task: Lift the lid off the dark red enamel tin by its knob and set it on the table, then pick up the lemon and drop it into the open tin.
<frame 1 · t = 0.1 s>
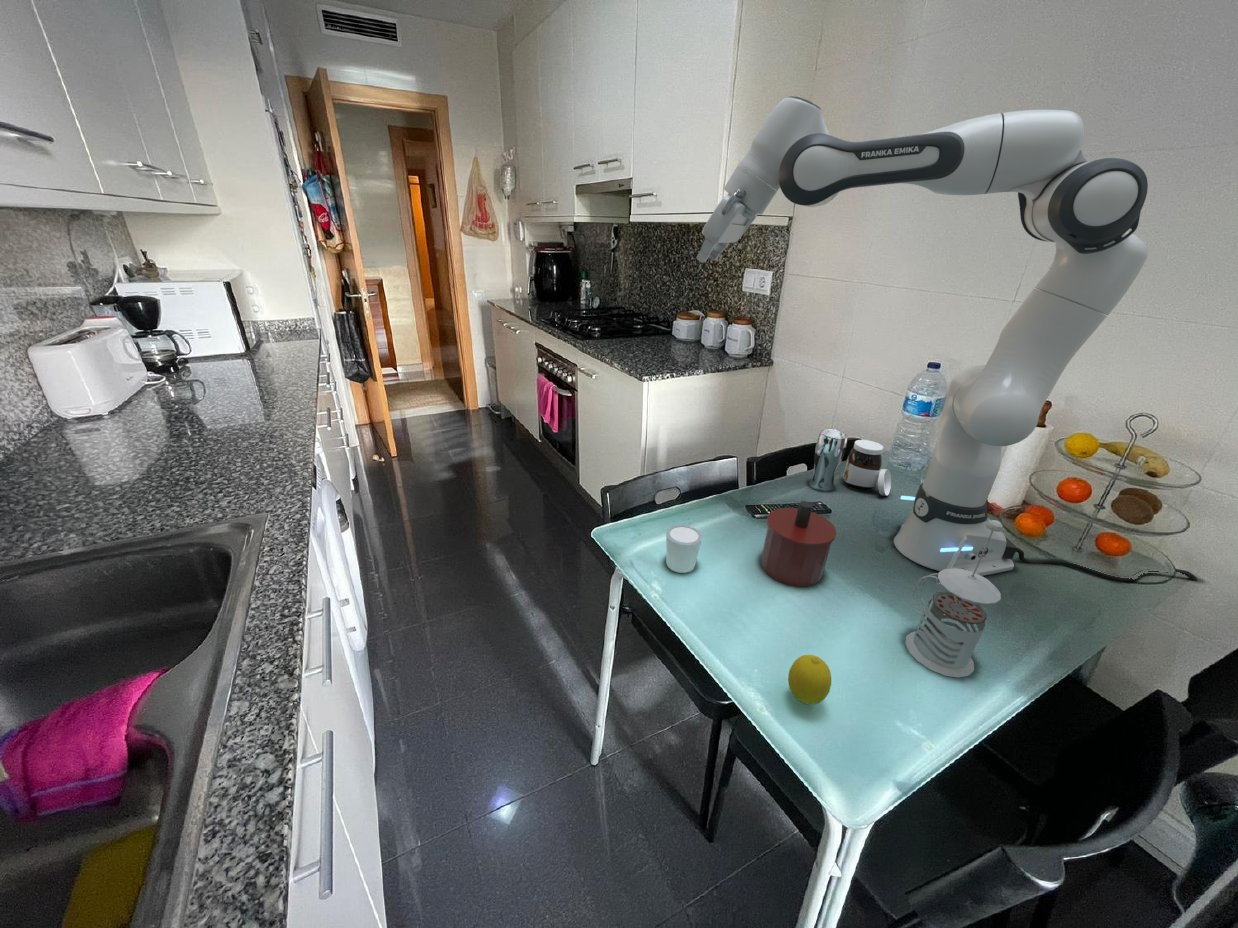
hand: (705, 260, 102), 54 cm above the table, tool tilted 30°, fingers open, 8 cm apart
tin: (790, 567, 99), on the table
lemon: (803, 700, 71), on the table
white cup: (680, 564, 99), on the table
french press: (933, 649, 81), on the table
spread jar: (865, 487, 133), on the table
beer glass: (820, 486, 132), on the table
tin lid: (800, 527, 95), point 9 cm above the table, touching tin
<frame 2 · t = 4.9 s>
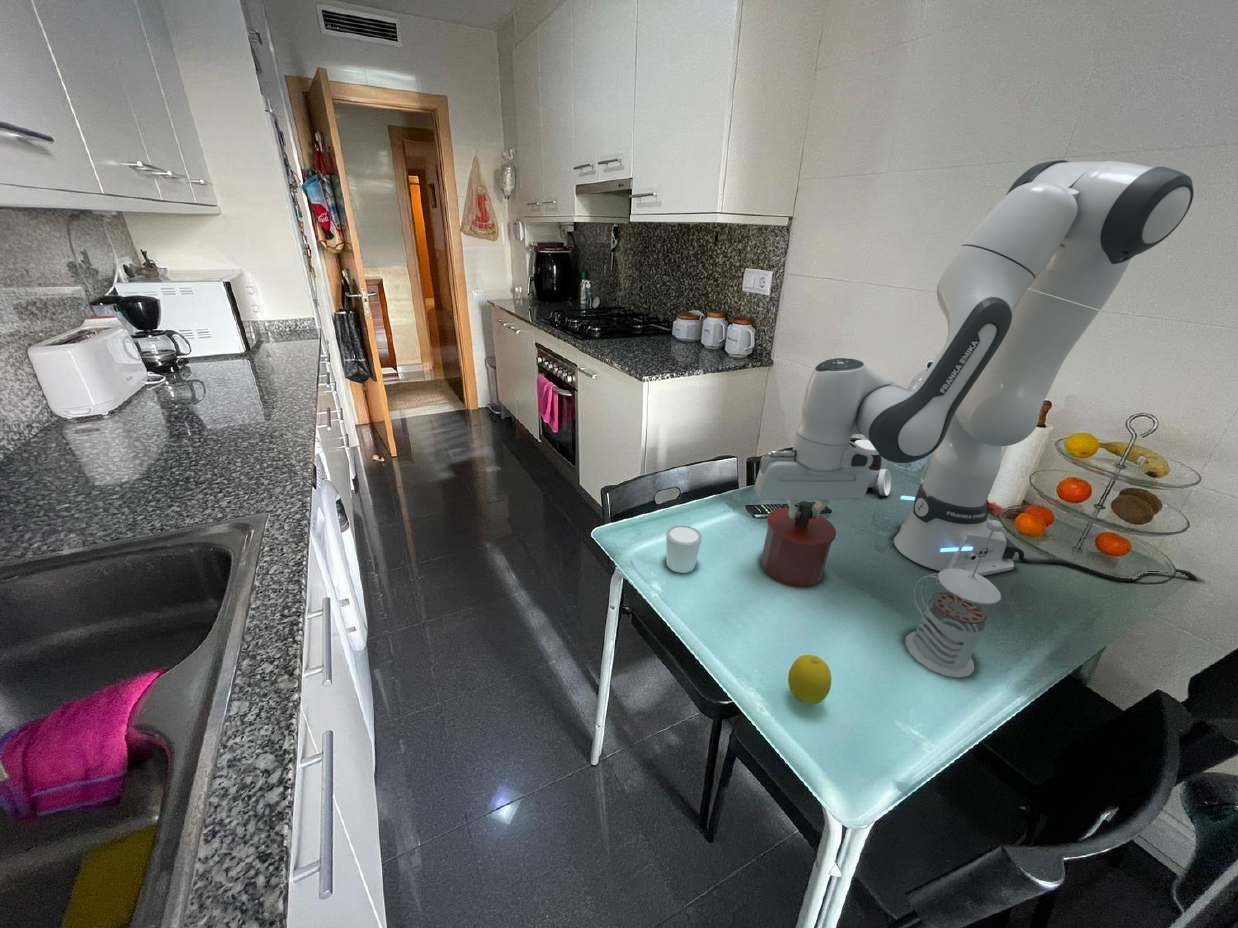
hand: (803, 517, 94), 12 cm above the table, tool pointing down, fingers closed on tin lid, 2 cm apart
tin lid: (800, 527, 95), point 10 cm above the table, touching gripper, tin
everything else where it was.
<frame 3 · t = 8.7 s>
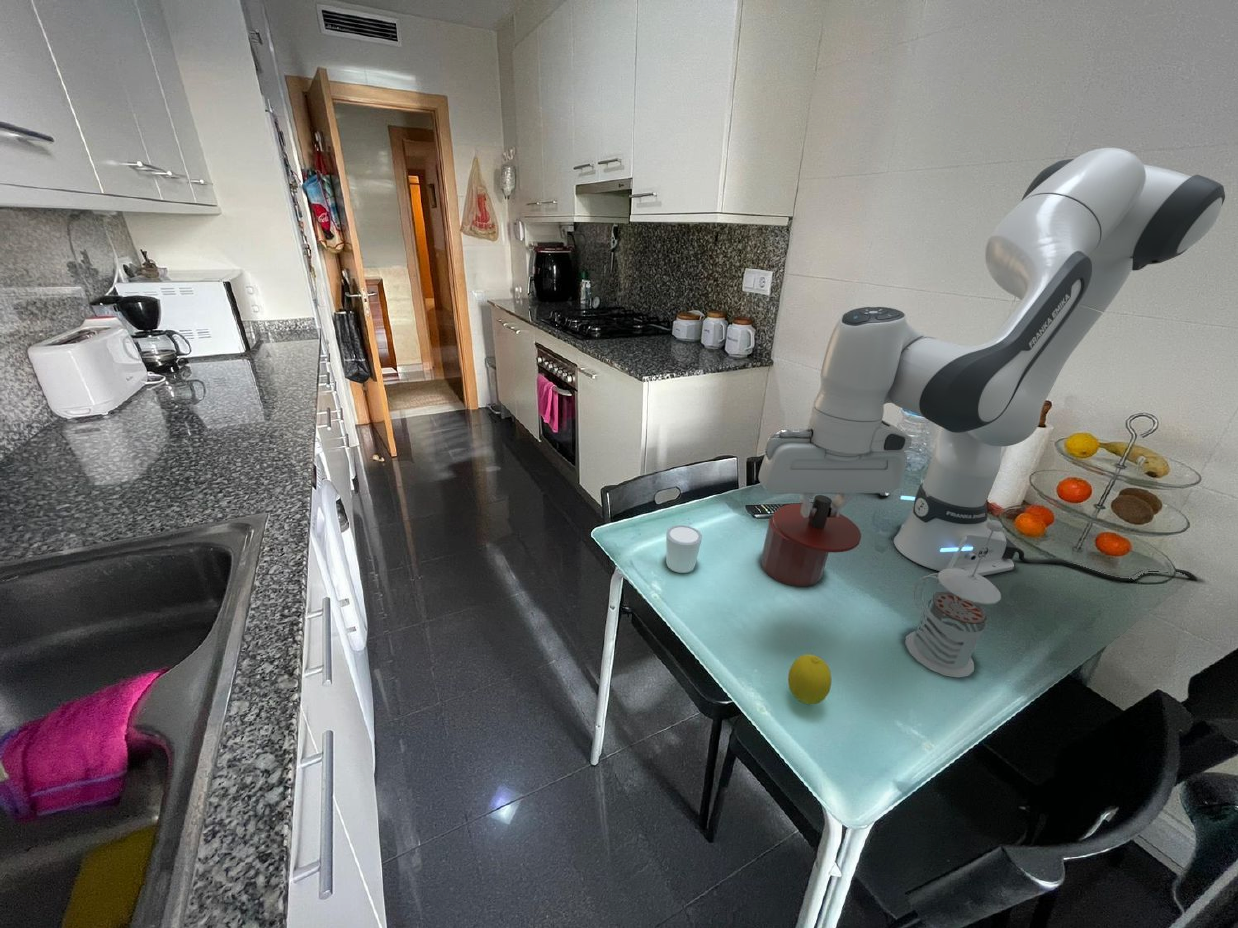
hand: (819, 515, 75), 22 cm above the table, tool pointing down, fingers closed on tin lid, 2 cm apart
tin lid: (815, 527, 76), point 20 cm above the table, touching gripper
everything else where it was.
when the fingers open (3 cm above the table, at t = 13.0 s): tin lid stays where it is, point 1 cm above the table.
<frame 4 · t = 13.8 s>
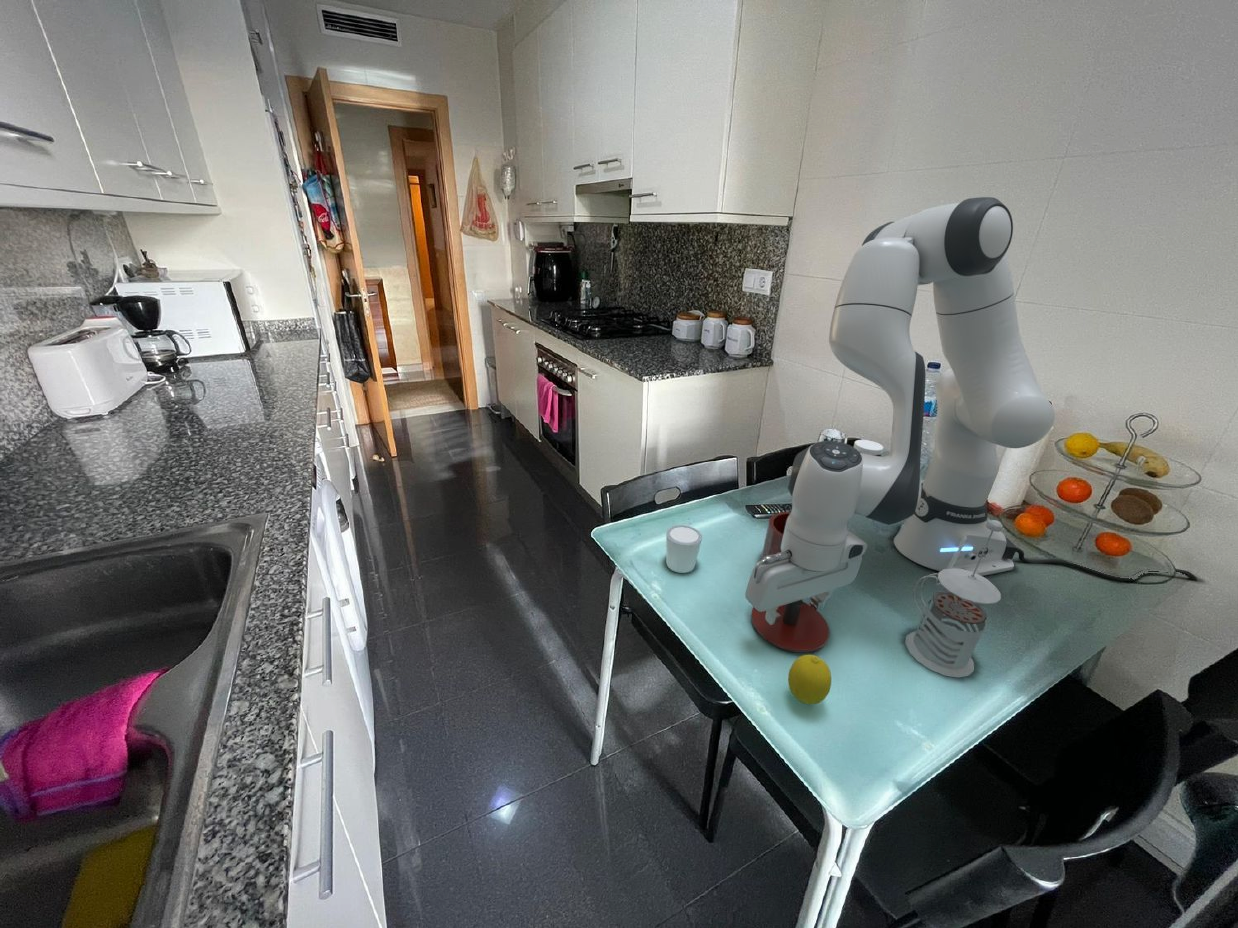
hand: (794, 614, 83), 3 cm above the table, tool pointing down, fingers open, 8 cm apart
tin lid: (789, 623, 84), point 1 cm above the table
everything else where it was.
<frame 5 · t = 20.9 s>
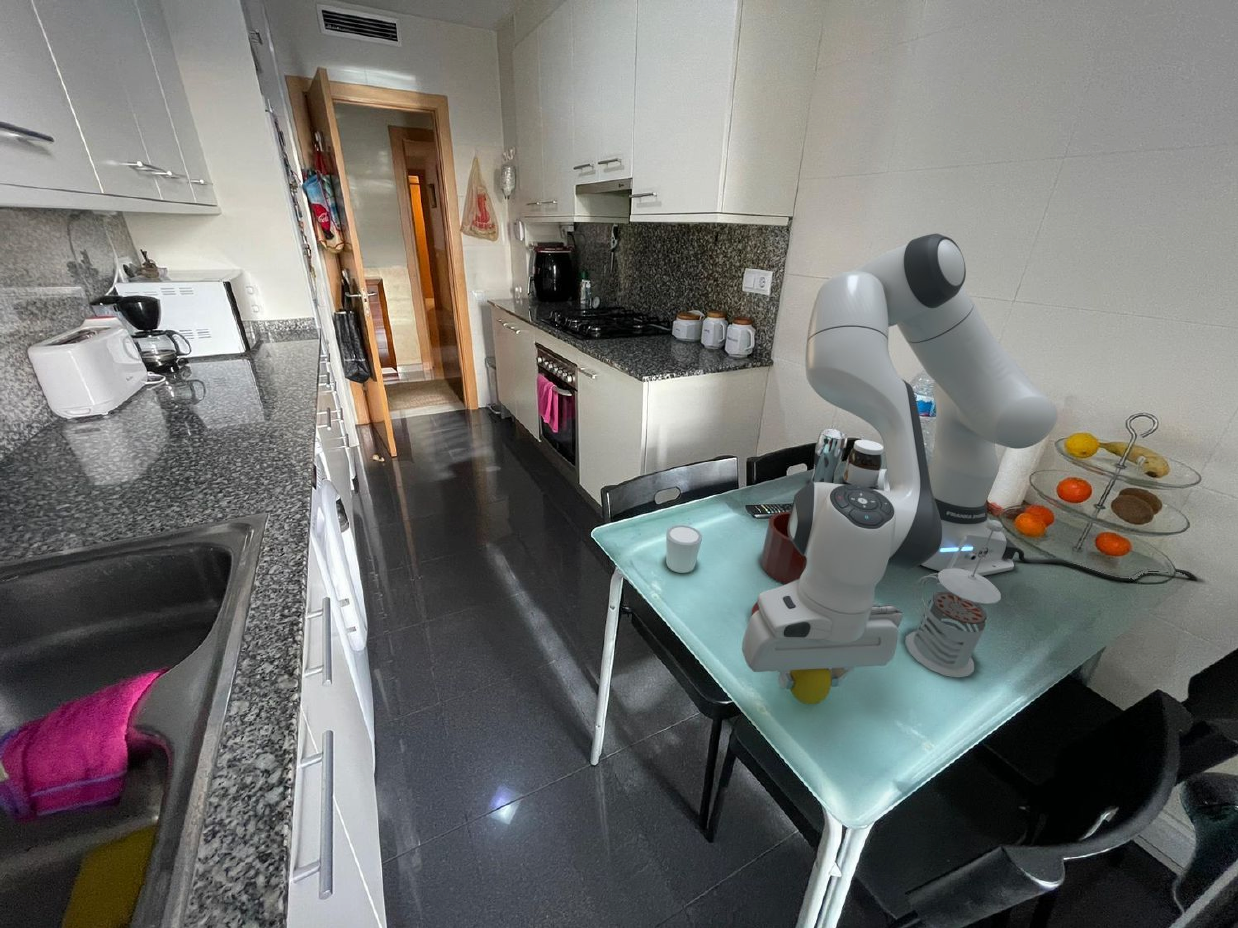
hand: (807, 683, 70), 3 cm above the table, tool pointing down, fingers closed on lemon, 5 cm apart
lemon: (803, 700, 71), on the table, touching gripper
everything else where it was.
when the fingers open (9 cm above the table, at t = 29.4 s): lemon drops 5 cm, resting on tin.
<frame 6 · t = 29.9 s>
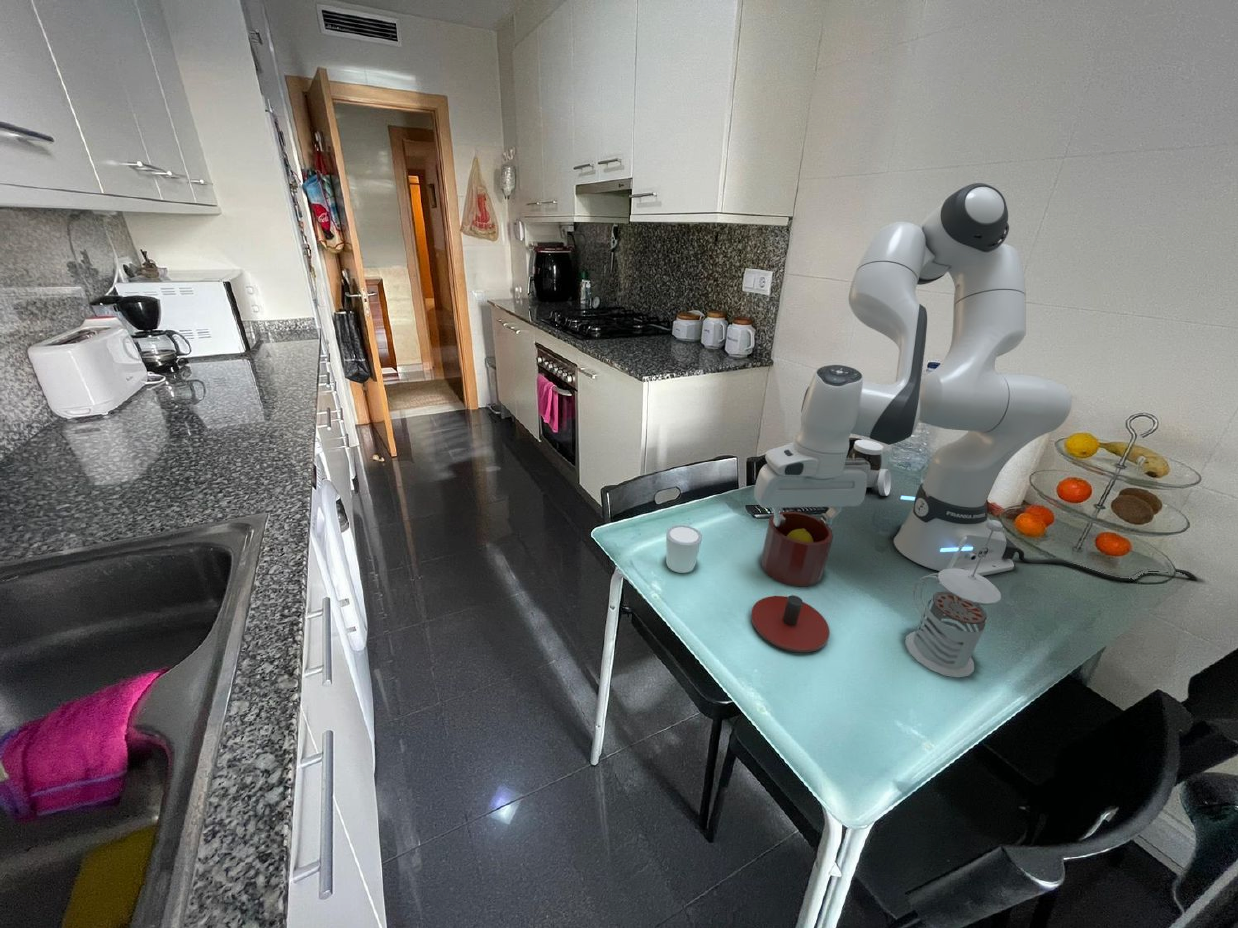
hand: (802, 524, 95), 10 cm above the table, tool pointing down, fingers open, 8 cm apart
lemon: (791, 565, 99), point 1 cm above the table, touching tin
everything else where it was.
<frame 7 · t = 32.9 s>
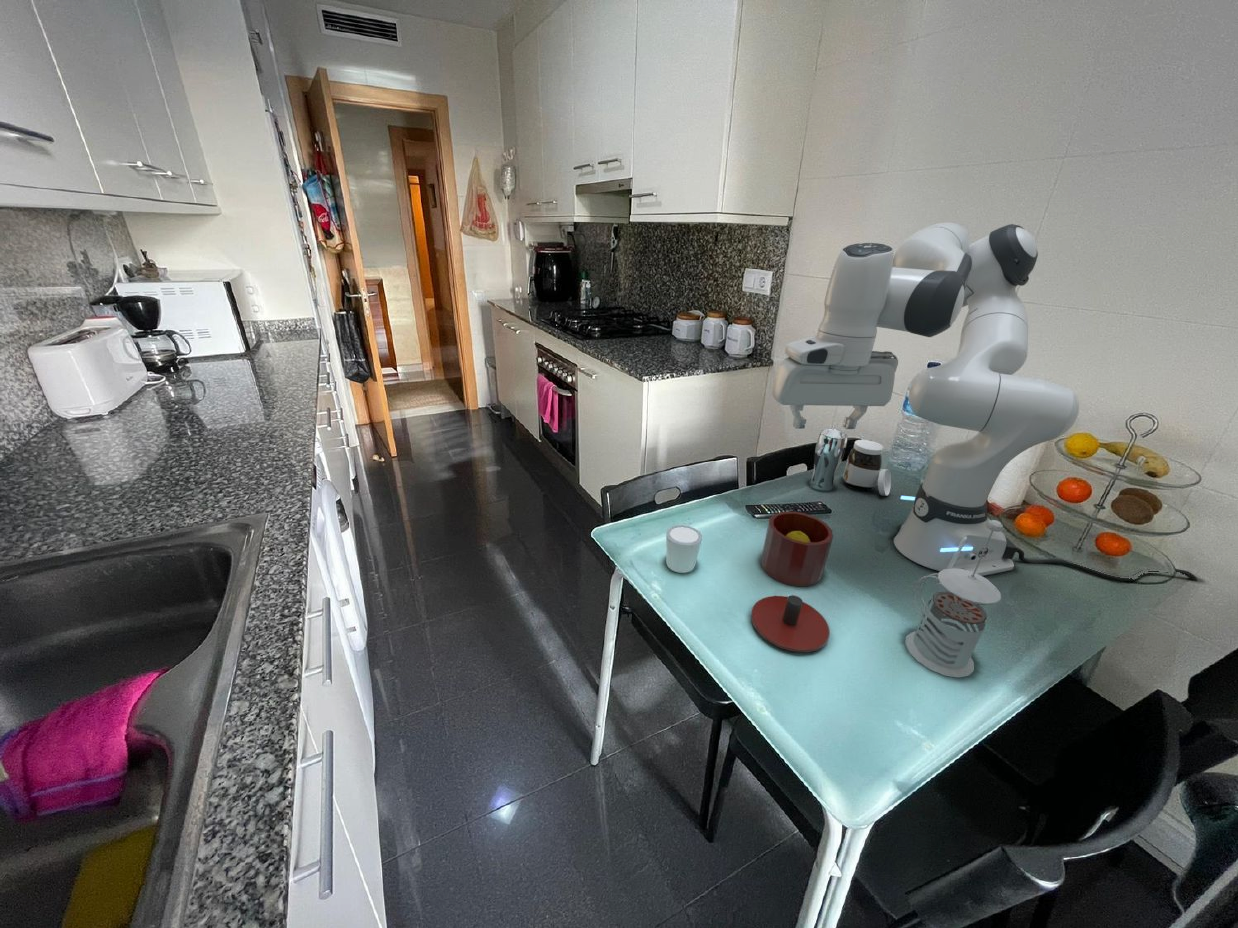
hand: (823, 427, 89), 29 cm above the table, tool pointing down, fingers open, 8 cm apart
nothing on the table moved.
at the end: tin lid inside the target area (0.3 cm from its centre), point 0.6 cm above the table; lemon inside the target area in the tin (0.1 cm from its centre), point 0.3 cm above the tin's base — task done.
